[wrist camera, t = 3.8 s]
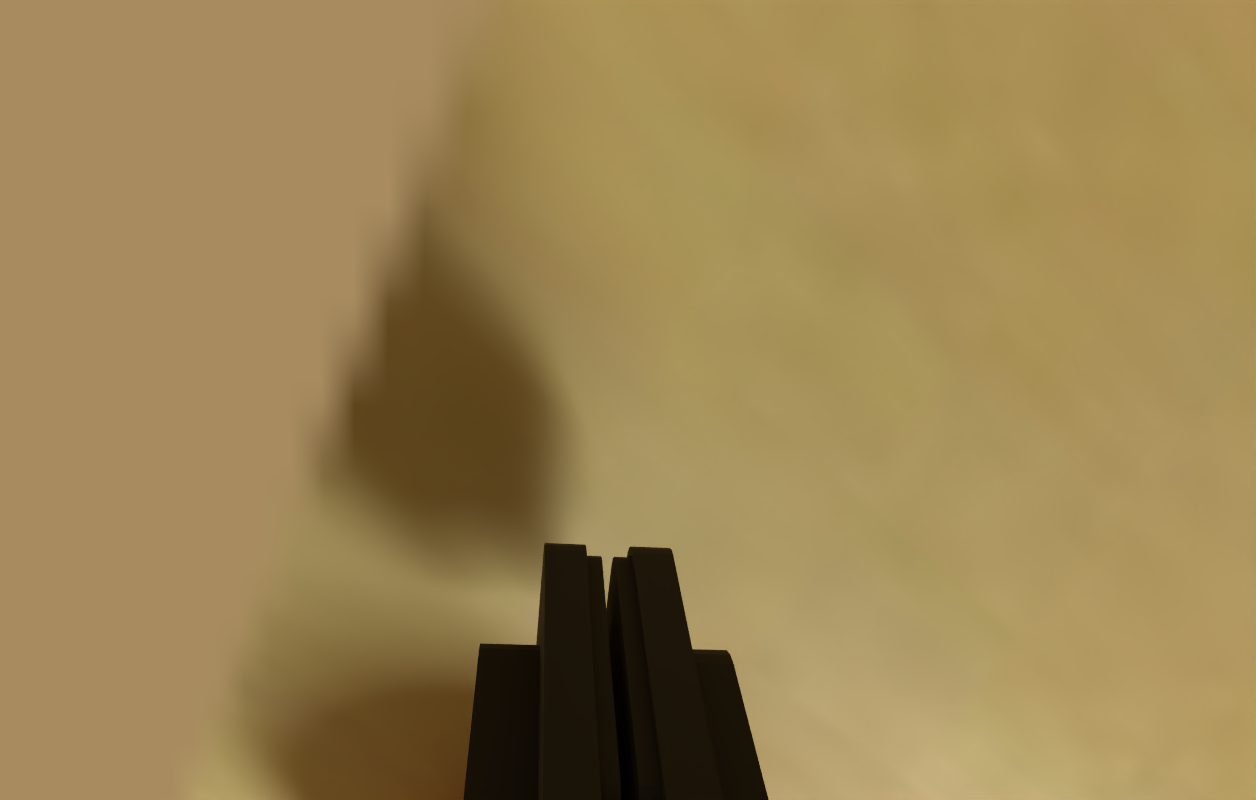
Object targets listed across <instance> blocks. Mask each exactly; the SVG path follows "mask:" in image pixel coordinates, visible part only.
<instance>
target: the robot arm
mask: <svg viewBox="0 0 1256 800" xmlns="http://www.w3.org/2000/svg"><path fill="white" fill-rule="evenodd" d="M464 800H768V796H767V792H766V788H765V784H764V781H763V777H762V773H761V769H760V765H759V761H758V757H757V753H756V749H755V746H754V742H753V738H752V734H751V730H750V726H749V722H748V718H747V715H746V711H745V707H744V703H743V699H742V695H741V691H740V687H739V684H738V680H737V676H736V672H735V668H734V664H733V661H732V658H731V656H730V654H729V653H728V651H727V650H695V649H692V645H691V641H690V636H689V631H688V626H687V621H686V616H685V611H684V606H683V601H682V596H681V592H680V587H679V582H678V577H677V572H676V567H675V562H674V557H673V553H672V550H671V549H670V548H652V547H630V548H629V550H628V554H627V557H614V558H613V561H612V567H611V575H610V583H609V592H608V600H607V608H606V602H605V590H604V578H603V566H602V558H601V556H587V551H586V545H578V544H554V543H545V545H544V554H543V567H542V580H541V593H540V606H539V618H538V631H537V644H536V645H511V644H480V648H479V656H478V665H477V675H476V685H475V694H474V704H473V714H472V723H471V733H470V742H469V752H468V762H467V771H466V781H465V791H464Z"/></svg>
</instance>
